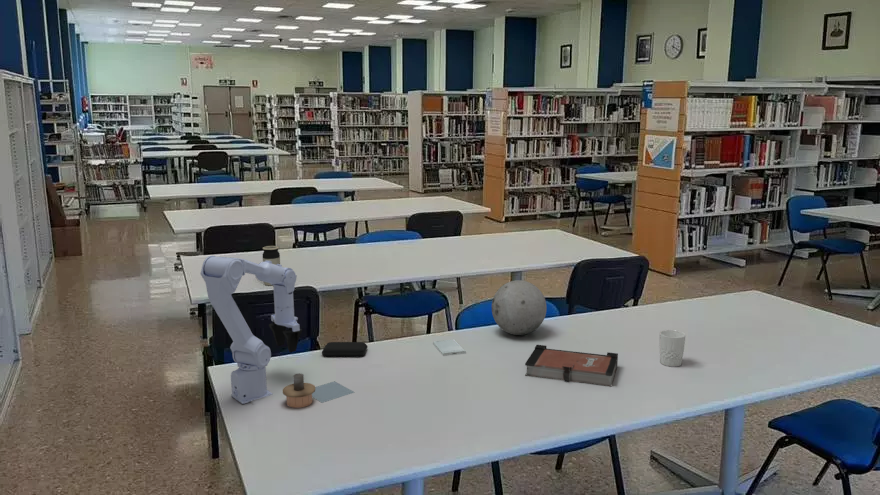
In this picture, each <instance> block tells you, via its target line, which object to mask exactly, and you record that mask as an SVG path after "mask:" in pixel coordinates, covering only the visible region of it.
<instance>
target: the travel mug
mask: <svg viewBox="0 0 880 495" xmlns="http://www.w3.org/2000/svg"><path fill="white" fill-rule="evenodd" d="M279 248H280V247H279V246H276V245H266V246H264V247H262V250H263V253H262V262H265V261H266V260H268V261H272V264H275V265H277V264H280V265H281V255H280V252H279ZM263 283H264V285H265V286H267V287H269V286H270V287H273V285H271V284H270V283H267V282H263Z"/></svg>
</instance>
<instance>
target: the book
mask: <svg viewBox="0 0 880 495" xmlns="http://www.w3.org/2000/svg"><path fill="white" fill-rule="evenodd" d="M618 356H619V353H616V352H609V351H608V352H607V353H606V354H597V353H589V352H582V351H581V352H580V351H572V350H562V349H553V348H547V345H546V344H545V345H543V344H536V346H535V347H534V349H533V351H532V352H531V354H530V355H529V357H528V359H527V360H526V361H525V365H524V366H526V373H525V375H524V376H525V377H531V378H540V379H547V380H556V381H562V382H566V383H569V382H570V383H572V382H573V383H579V384H585V385H596V386H603V387H609V388H611V387H612V386H613V383H614V379H615V376H616V373H617V370H618V362H619V361H618V360H619V357H618Z"/></svg>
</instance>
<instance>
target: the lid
mask: <svg viewBox="0 0 880 495" xmlns="http://www.w3.org/2000/svg"><path fill="white" fill-rule="evenodd" d="M292 378H293V383H290V384H287V385H286V386H284V387H283V388H282V394H283V395H284V396H285V397H286V396H288V397H304V396H308V395H311V394H312V393H314V392H315V387H316V386H315V385H314V384H313V383H309V382H305V381H304V380H305V378H304V373H294V374H293V375H292Z"/></svg>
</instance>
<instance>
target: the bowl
mask: <svg viewBox="0 0 880 495" xmlns="http://www.w3.org/2000/svg"><path fill="white" fill-rule="evenodd" d="M285 397H286V398H285V399H286V405H287V406H288V407H290V408H295V409H296V408H298V409H299V408H304V407H308V406H310V405H311V404H313V397H312V394H311V395H308V396H304V397H288V396H285Z"/></svg>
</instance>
